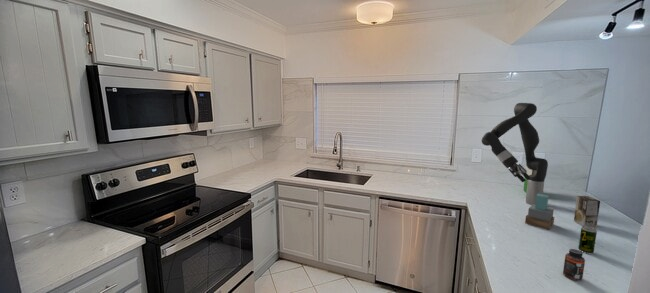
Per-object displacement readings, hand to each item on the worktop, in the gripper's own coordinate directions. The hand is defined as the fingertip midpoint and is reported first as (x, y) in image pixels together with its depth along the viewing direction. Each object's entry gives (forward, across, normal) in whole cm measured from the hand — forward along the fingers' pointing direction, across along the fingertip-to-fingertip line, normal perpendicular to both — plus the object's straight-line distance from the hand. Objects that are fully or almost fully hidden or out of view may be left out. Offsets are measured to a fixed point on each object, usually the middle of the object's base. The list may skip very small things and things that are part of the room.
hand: (526, 180), depth 163 cm
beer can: (+40, -19, -4) cm, 45 cm away
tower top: (+20, +1, +9) cm, 22 cm away
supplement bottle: (+41, -50, -5) cm, 65 cm away
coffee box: (+35, +21, 0) cm, 41 cm away
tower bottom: (+24, 0, +12) cm, 27 cm away
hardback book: (+8, +64, +27) cm, 70 cm away
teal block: (+17, 0, +5) cm, 17 cm away
